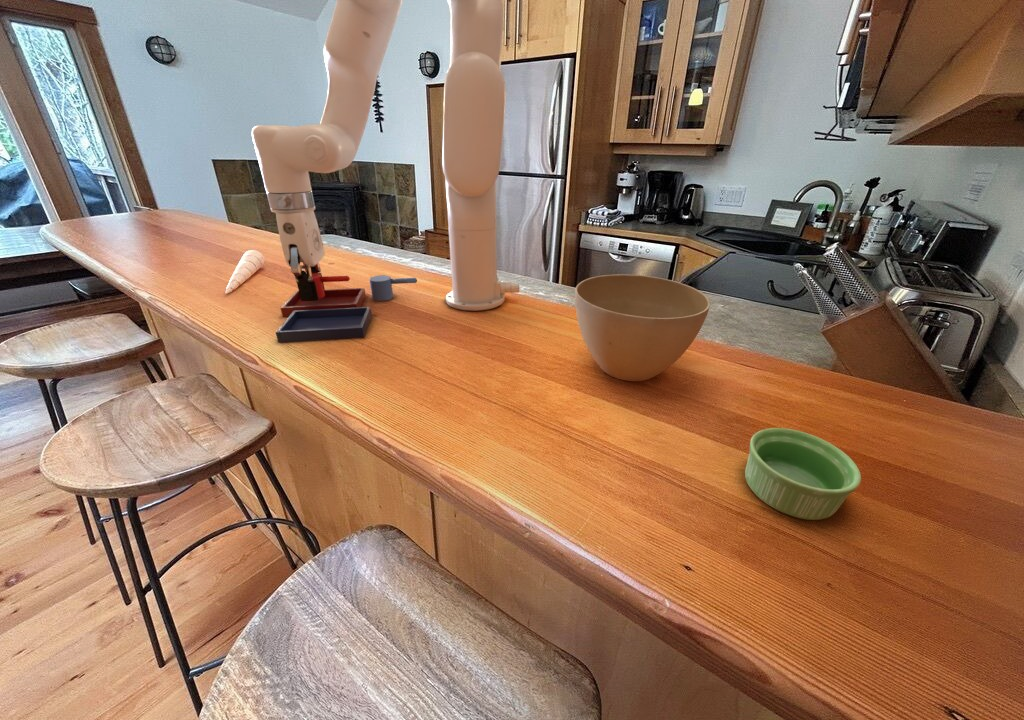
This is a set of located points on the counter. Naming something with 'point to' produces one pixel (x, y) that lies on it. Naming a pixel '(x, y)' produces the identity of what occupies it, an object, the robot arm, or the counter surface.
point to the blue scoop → (386, 286)
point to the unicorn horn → (245, 269)
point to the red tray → (326, 301)
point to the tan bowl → (638, 322)
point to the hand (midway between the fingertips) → (313, 295)
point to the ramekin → (799, 473)
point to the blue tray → (325, 324)
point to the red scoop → (319, 280)
